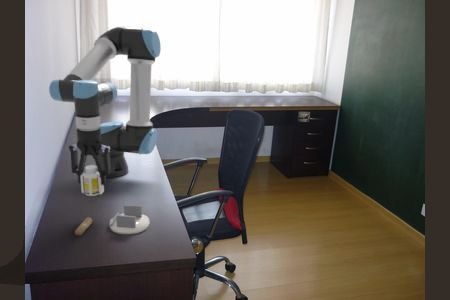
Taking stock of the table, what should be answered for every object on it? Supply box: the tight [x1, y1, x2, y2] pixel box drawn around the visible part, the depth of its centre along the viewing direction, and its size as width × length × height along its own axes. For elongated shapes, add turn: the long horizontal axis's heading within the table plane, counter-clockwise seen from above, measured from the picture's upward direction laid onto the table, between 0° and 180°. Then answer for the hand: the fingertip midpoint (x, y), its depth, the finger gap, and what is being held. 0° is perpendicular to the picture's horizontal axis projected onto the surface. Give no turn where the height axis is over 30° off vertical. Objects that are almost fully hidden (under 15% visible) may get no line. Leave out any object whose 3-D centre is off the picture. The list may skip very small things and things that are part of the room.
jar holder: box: [108, 204, 150, 235], centre depth 124 cm, size 13×13×5 cm
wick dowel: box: [74, 216, 93, 236], centre depth 120 cm, size 8×2×2 cm, turn 177°
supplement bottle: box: [83, 164, 100, 197], centre depth 128 cm, size 5×5×10 cm
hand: (92, 192), depth 129 cm, fingers closed on supplement bottle, 5 cm apart
